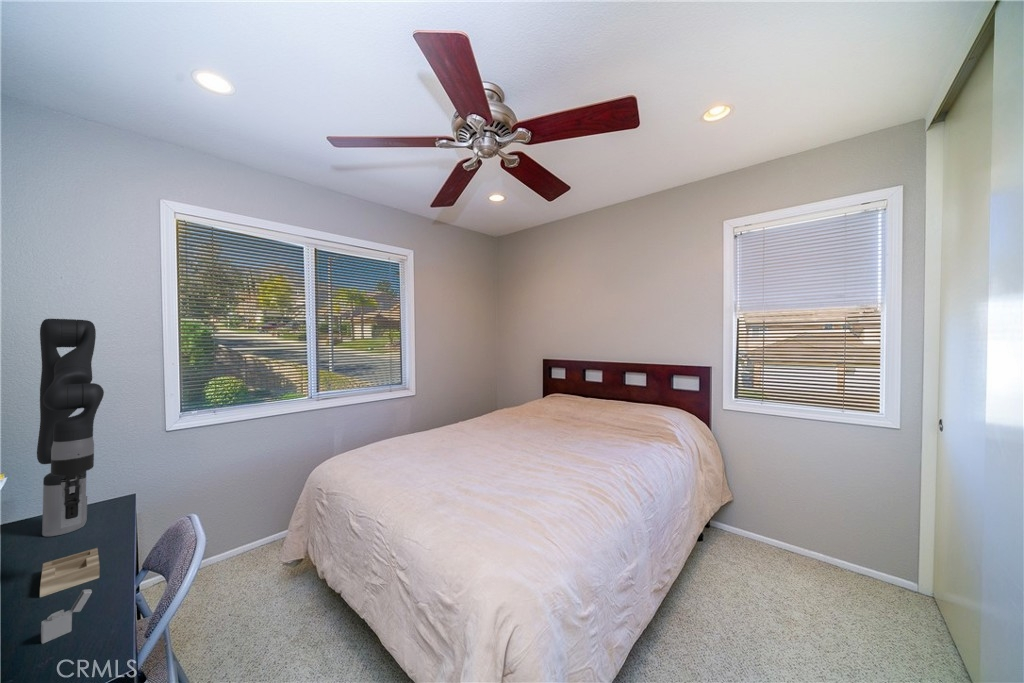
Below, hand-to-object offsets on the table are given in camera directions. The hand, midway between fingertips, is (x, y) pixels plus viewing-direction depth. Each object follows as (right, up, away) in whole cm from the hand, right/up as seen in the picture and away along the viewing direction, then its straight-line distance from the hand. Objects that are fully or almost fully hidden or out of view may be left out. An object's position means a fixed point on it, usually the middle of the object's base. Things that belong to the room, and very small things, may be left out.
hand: (71, 515), depth 98 cm
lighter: (+21, -19, -17) cm, 32 cm away
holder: (-1, -18, +1) cm, 18 cm away
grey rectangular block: (0, -2, 0) cm, 2 cm away
